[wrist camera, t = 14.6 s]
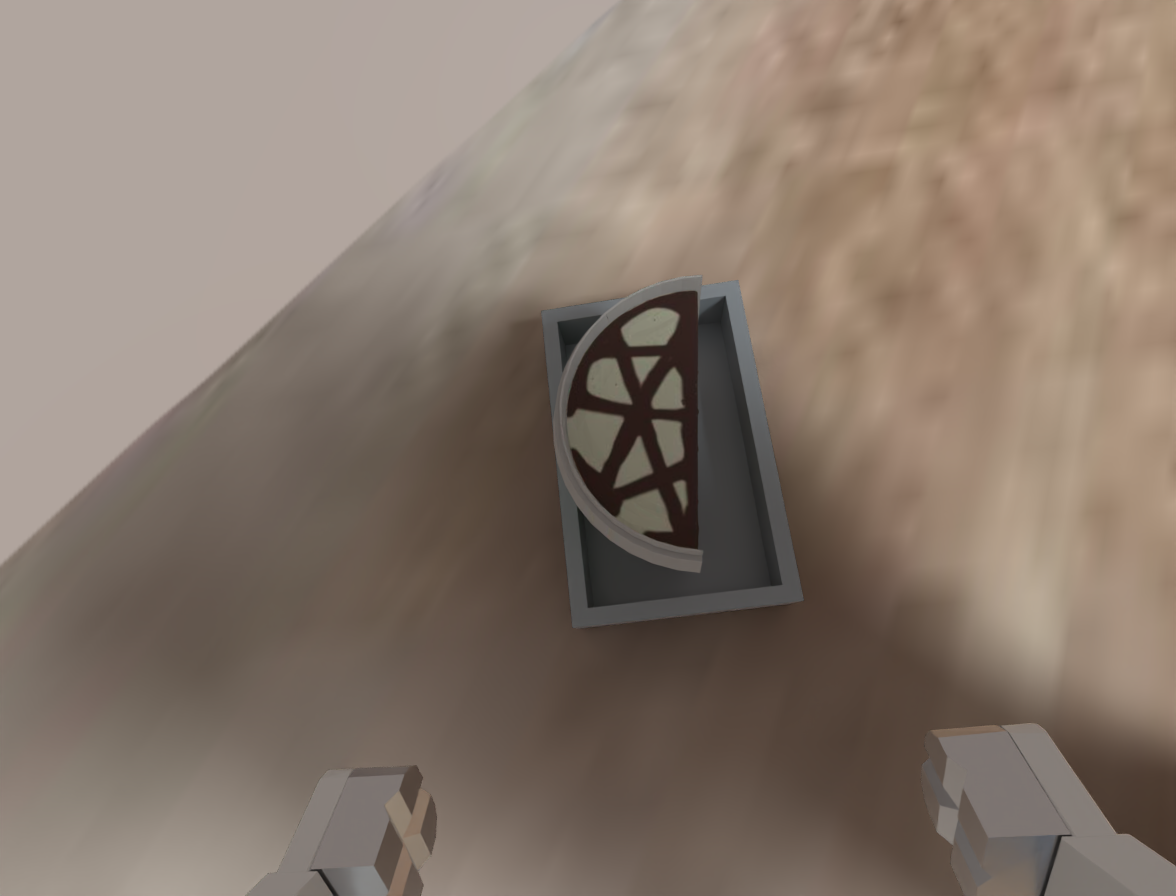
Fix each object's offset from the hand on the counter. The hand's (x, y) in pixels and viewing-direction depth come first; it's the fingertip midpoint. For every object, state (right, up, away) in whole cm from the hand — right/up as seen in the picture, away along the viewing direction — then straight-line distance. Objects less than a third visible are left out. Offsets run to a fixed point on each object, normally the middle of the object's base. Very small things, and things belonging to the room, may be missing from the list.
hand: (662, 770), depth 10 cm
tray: (+3, +4, +24) cm, 25 cm away
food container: (+1, +4, +24) cm, 24 cm away
